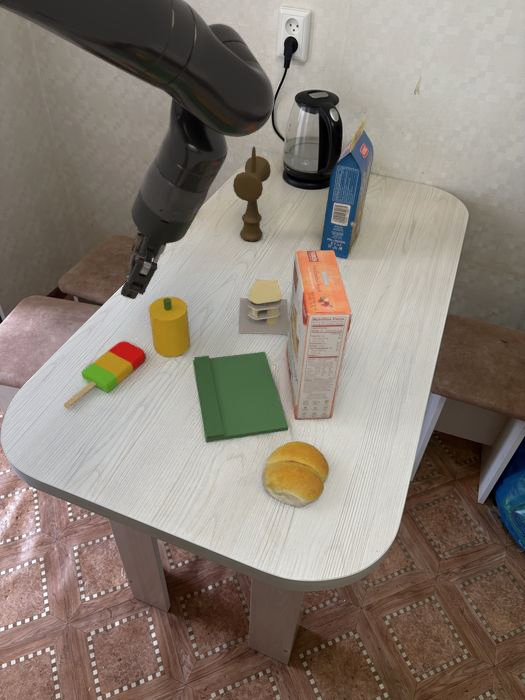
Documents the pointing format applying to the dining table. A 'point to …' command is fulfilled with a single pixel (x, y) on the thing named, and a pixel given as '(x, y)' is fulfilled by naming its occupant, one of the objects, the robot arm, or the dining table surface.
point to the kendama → (252, 194)
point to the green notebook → (238, 396)
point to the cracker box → (316, 333)
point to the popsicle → (110, 369)
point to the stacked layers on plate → (264, 310)
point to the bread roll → (295, 473)
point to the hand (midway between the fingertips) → (133, 273)
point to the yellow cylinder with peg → (169, 326)
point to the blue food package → (347, 194)
